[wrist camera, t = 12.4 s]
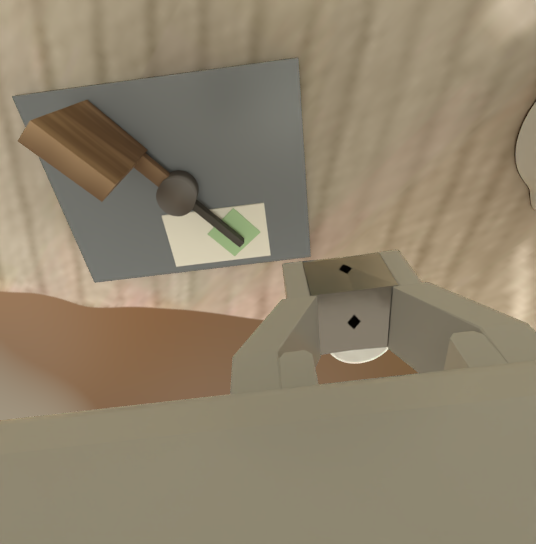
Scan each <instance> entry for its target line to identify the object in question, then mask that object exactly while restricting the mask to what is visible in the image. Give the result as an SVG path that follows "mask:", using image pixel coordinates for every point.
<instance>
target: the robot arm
mask: <svg viewBox="0 0 536 544" xmlns="http://www.w3.org/2000/svg"><path fill="white" fill-rule="evenodd" d="M516 165H517V169H518V171H519V174H520V176H521V177H522V179H523V180H524V182H525V183H526V184H527V186H528V187H529V190H530V199H531V205H532V208H533V209H534V210H536V102H535V104H534V105H533V107H532V108H531V110H530V111H529V113H528V115H527V117H526V118H525V120H524V123H523V125H522V127H521V130H520V132H519V136H518V140H517V144H516ZM282 267H283V276H284V285H285V294H286V299H283V300H281V301H280V302H279V303H278V305H277V306H276V307H275V308H274V309H273V310H272V312H271V313H270V314H269V315H268V316H267V317H266V319H265V320H264V321H263V322H262V323H261V324H260V326H259V327H258V328H257V329H256V330H255V331H254V333H253V334H252V335H251V336H250V337H249V338H248V340H247V341H246V342H245V343H244V344H243V346H242V347H241V348H240V349H239V350H238V351H237V353H236V354H235V355H234V356H233V361H232V376H231V391H230V395H222V396H212V397H203V398H194V399H185V400H177V401H168V402H159V403H150V404H141V405H133V406H123V407H114V408H105V409H96V410H88V411H78V412H70V413H61V414H52V415H43V416H34V417H25V418H16V419H7V420H0V544H536V332H535V331H534V330H533V329H532V328H531V327H530V326H529V324H528V323H525V322H523V321H520V320H518V319H516V318H513V317H511V316H508V315H506V314H504V313H501V312H499V311H496V310H494V309H492V308H489V307H487V306H484V305H482V304H480V303H477V302H475V301H472V300H470V299H468V298H465V297H463V296H460V295H458V294H456V293H453V292H451V291H448V290H446V289H444V288H441V287H439V286H436V285H434V284H432V283H429V282H425V283H422V282H421V280H420V279H419V277H418V276H417V275H416V273H415V272H414V271H413V269H412V268H411V266H410V265H409V264H408V262H407V261H406V260H405V258H404V257H403V255H402V254H401V253H400V251H398V250H390V251H384V252H377V253H370V254H363V255H357V256H350V257H343V258H330V259H321V260H311V261H302V262H301V261H299V262H292V263H284V264H283V265H282ZM383 347H388V349H389V350H391V351H392V352H393V353H394V354H396V355H397V356H398V357H399V358H401V359H402V360H403V361H405V362H406V363H407V364H408V365H410V366H411V367H412V368H413V369H415V370H416V371H417V372H418V374H409V375H400V376H391V377H382V378H373V379H364V380H355V381H346V382H337V383H328V384H318V380H317V375H316V370H315V367H316V365H317V363H318V361H319V359H320V357H321V356H320V355H323V354H329V353H337V352H344V351H351V350H361V349H372V348H383Z"/></svg>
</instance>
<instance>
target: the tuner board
mask: <svg viewBox="0 0 536 544" xmlns="http://www.w3.org/2000/svg"><path fill="white" fill-rule="evenodd" d="M12 98H13V100H14V102H15V104H16V107H17V109H18V111H19V113H20V116H21V118H22V120H23V122H24V125H25V127H26V126H27V125H28V123H29V121H30V120H33V119H35V118H38V117H41V116H43V115H46V114H49V113H52V112H54V111H57V110H60V109H63V108H65V107H68V106H71V105H74V104H76V103H79V102H82V101H84V100H88V101H89V102H91V103H92V104H93V105H94V106H95V107H97V108H98V109H99V110H100V111H101V112H103V113H104V114H105V115H106V116H107V117H109V118H110V119H111V120H112V121H113V122H115V123H116V124H117V125H118V126H120V127H121V128H122V129H123V130H124V131H126V132H127V133H128V134H129V135H130V136H132V137H133V138H134V139H135V140H136V141H138V142H139V143H140V144H141V145H142V146H144V147H145V148H146V149H147V152H146V154H147V155H149V156H150V157H151V158H152V159H153V160H155V161H156V162H157V163H158V164H159V165H161V166H162V167H163V168H164V169H166V170H167V171H168V172H169V173H170V172H172V171H176V170H181V171H185V172H188V173H189V174H191V175H192V176H193V177H194V178H195V179H196V181H197V183H198V187H199V192H198V196H197V200H198V201H199V202H200V203H202V204H203V205H204V206H205V207H207V208H208V209H209V210H210V211H211V212H213V213H214V214H215V215H216V216H218V217H219V218H220V219H221V220H222V221H224V222H225V223H226V224H227V225H229V226H230V227H231V228H232V229H233V230H235V231H236V232H237V233H238V234H240V235H241V236H242V237H243V238H244V244H243V245H242V246H241V247H238V246H237V245H236V244H235V243H233V242H232V241H231V240H230V239H228V238H227V237H226V236H225V235H223V234H222V233H221V232H220V231H218V230H217V229H216V228H215V227H213V226H212V225H211V224H210V223H208V222H207V221H206V220H205V219H203V218H202V217H201V216H200V215H198V214H197V213H196V212H195V211H193V210H191V211H190V212H189V213H188V214H186V215H184V216H172V215H169V214H167V213H165V212H164V211H163V210H162V209H161V208H160V207H159V205H158V203H157V200H156V192H157V189H158V186H156V185H155V184H154V183H153V182H151V181H150V180H149V179H148V178H146V177H145V176H144V175H143V174H141V173H140V172H139V171H137V170H136V169H135V168H133V169H132V170H131V171H130V172H129V173H128V174H127V175H126V176H125V177H124V179H123V180H122V181H121V182H120V183H119V184H118V185H117V186H116V187H115V188H114V189H113V191H112V192H111V193H110V194H109V195H108V196H107V197H106V198H105V199H104V200H103V202H101V201H100V200H98V199H97V198H96V197H94V196H93V195H92V194H90V193H89V192H87V191H86V190H85V189H83V188H82V187H80V186H79V185H78V184H76V183H75V182H74V181H72V180H71V179H69V178H68V177H67V176H65V175H64V174H62V173H61V172H60V171H58V170H57V169H56V168H54V167H53V166H51V165H50V164H49V163H47V162H46V161H44V160H43V159H42V158H40V157H39V159H40V161H41V163H42V165H43V168H44V170H45V172H46V174H47V177H48V179H49V181H50V183H51V186H52V188H53V190H54V192H55V195H56V197H57V199H58V201H59V204H60V206H61V208H62V210H63V213H64V215H65V217H66V219H67V222H68V224H69V226H70V228H71V231H72V233H73V235H74V237H75V240H76V242H77V244H78V246H79V249H80V251H81V253H82V255H83V258H84V260H85V262H86V264H87V267H88V269H89V271H90V273H91V276H92V278H93V280H94V282H104V281H112V280H120V279H129V278H137V277H145V276H154V275H162V274H171V273H179V272H187V271H196V270H204V269H212V268H221V267H229V266H237V265H246V264H254V263H262V262H271V261H279V260H287V259H296V258H304V257H311V255H310V239H309V223H308V207H307V190H306V174H305V158H304V142H303V125H302V109H301V93H300V77H299V60H298V58H290V59H283V60H276V61H268V62H261V63H253V64H246V65H238V66H231V67H224V68H216V69H209V70H201V71H194V72H187V73H179V74H172V75H164V76H157V77H149V78H142V79H135V80H127V81H120V82H112V83H105V84H98V85H90V86H83V87H75V88H68V89H60V90H53V91H46V92H38V93H31V94H23V95H16V96H12Z"/></svg>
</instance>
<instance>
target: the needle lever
mask: <svg viewBox="0 0 536 544" xmlns="http://www.w3.org/2000/svg"><path fill="white" fill-rule="evenodd" d="M18 142H20V143H21V144H22V145H24V146H25V147H26V148H28V149H29V150H31V151H32V152H33V153H35V154H36V155H38V156H39V157H40V158H42V159H43V160H44V161H46V162H47V163H49V164H50V165H51V166H53V167H54V168H56V169H57V170H58V171H60V172H61V173H62V174H64V175H65V176H67V177H68V178H69V179H71V180H72V181H74V182H75V183H76V184H78V185H79V186H80V187H82V188H83V189H85V190H86V191H87V192H89V193H90V194H92V195H93V196H94V197H96V198H97V199H98V200H100V201H101V202H103V200H104V199H105V198H106V197H107V196H108V195H109V194H110V193H111V192H112V191H113V189H114V188H115V187H116V186H117V185H118V184H119V183H120V182H121V181H122V180H123V179H124V177H125V176H126V175H127V174H128V173H129V172H130V171H131V170H132V169H133V168H135V169H136V170H137V171H139V172H140V173H141V174H143V175H144V176H145V177H146V178H148V179H149V180H150V181H151V182H153V183H154V184H155V185H156V186H158V189H157V192H156V200H157V203H158V205H159V207H160V208H161V209H162V210H163V211H164V212H165V213H167V214H169V215H172V216H184V215H186V214H188V213H189V212H190V211H191V210H193V211H195V212H196V213H197V214H198V215H200V216H201V217H202V218H203V219H205V220H206V221H207V222H208V223H210V224H211V225H212V226H213V227H215V228H216V229H217V230H218V231H220V232H221V233H222V234H223V235H225V236H226V237H227V238H228V239H230V240H231V241H232V242H233V243H235V244H236V245H237V246H238V247H241V246H242V245H243V244H244V238H243V237H242V236H241V235H240V234H238V233H237V232H236V231H235V230H233V229H232V228H231V227H230V226H229V225H227V224H226V223H225V222H224V221H222V220H221V219H220V218H219V217H218V216H216V215H215V214H214V213H213V212H211V211H210V210H209V209H208V208H207V207H205V206H204V205H203V204H202V203H200V202H199V201H198V200H197V196H198V192H199V187H198V183H197V181H196V179H195V178H194V177H193V176H192V175H191V174H189V173H188V172H185V171H181V170H176V171H172V172H170V173H169V172H168V171H167V170H166V169H164V168H163V167H162V166H161V165H159V164H158V163H157V162H156V161H155V160H153V159H152V158H151V157H150V156H149V155H147V154H146V152H147V149H146V148H145V147H144V146H142V145H141V144H140V143H139V142H138V141H136V140H135V139H134V138H133V137H132V136H130V135H129V134H128V133H127V132H126V131H124V130H123V129H122V128H121V127H120V126H118V125H117V124H116V123H115V122H113V121H112V120H111V119H110V118H109V117H107V116H106V115H105V114H104V113H103V112H101V111H100V110H99V109H98V108H97V107H95V106H94V105H93V104H92V103H91V102H89V101H88V100H84V101H82V102H79V103H76V104H74V105H71V106H68V107H65V108H63V109H60V110H57V111H54V112H52V113H49V114H46V115H43V116H41V117H38V118H35V119H33V120H30V121H29V123H28V125H27V126H26V128H25V130H24V131H23V133H22V135H21V136H20V138H19V140H18Z"/></svg>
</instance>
